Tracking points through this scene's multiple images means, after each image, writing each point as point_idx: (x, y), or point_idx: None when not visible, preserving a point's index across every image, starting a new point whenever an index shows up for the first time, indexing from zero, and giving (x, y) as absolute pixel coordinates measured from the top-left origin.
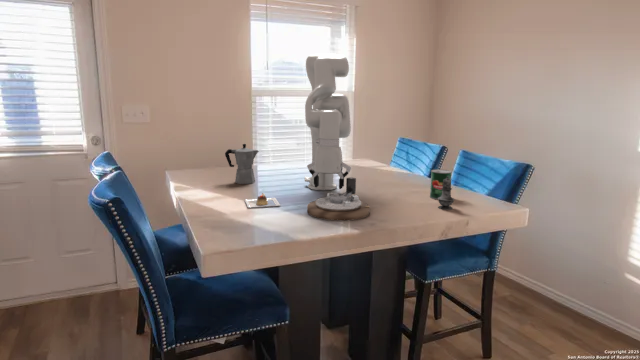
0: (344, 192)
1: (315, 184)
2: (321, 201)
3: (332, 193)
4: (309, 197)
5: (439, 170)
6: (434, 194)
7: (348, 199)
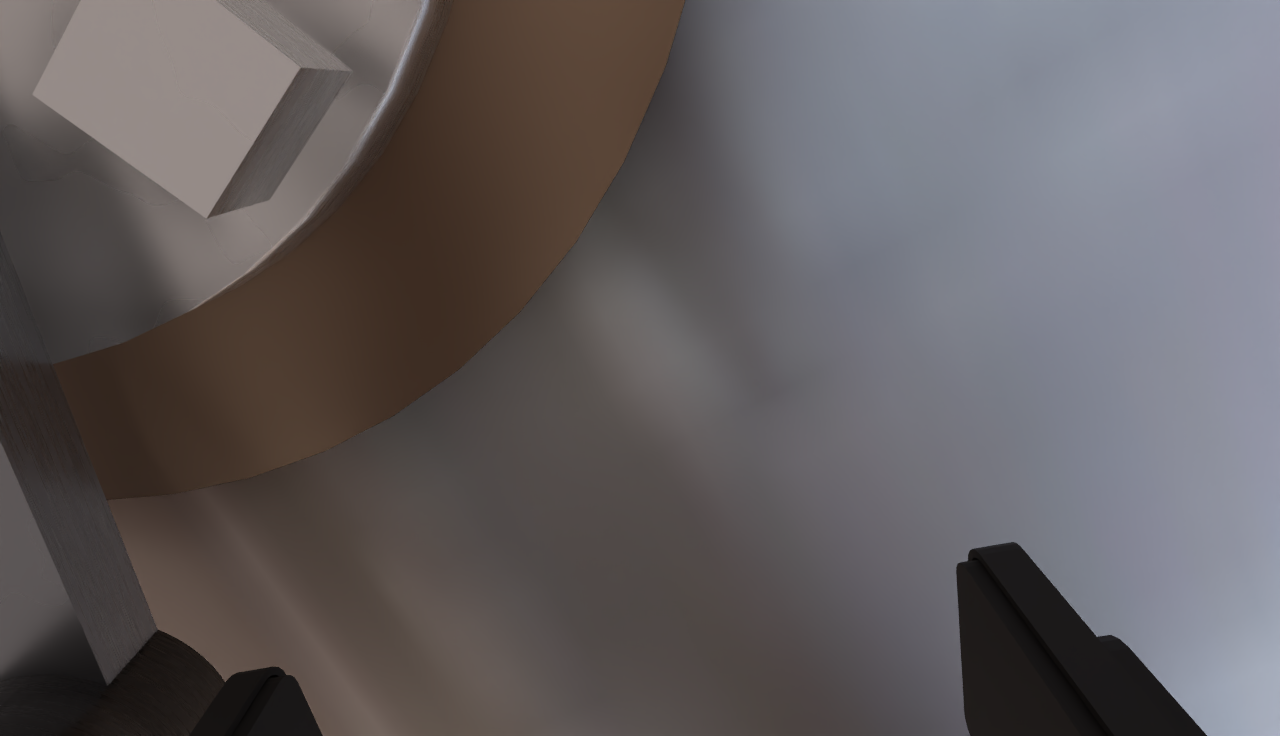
0: (16, 486)
1: (1031, 591)
2: None
3: (109, 87)
4: (1067, 552)
5: None
6: None
7: None
